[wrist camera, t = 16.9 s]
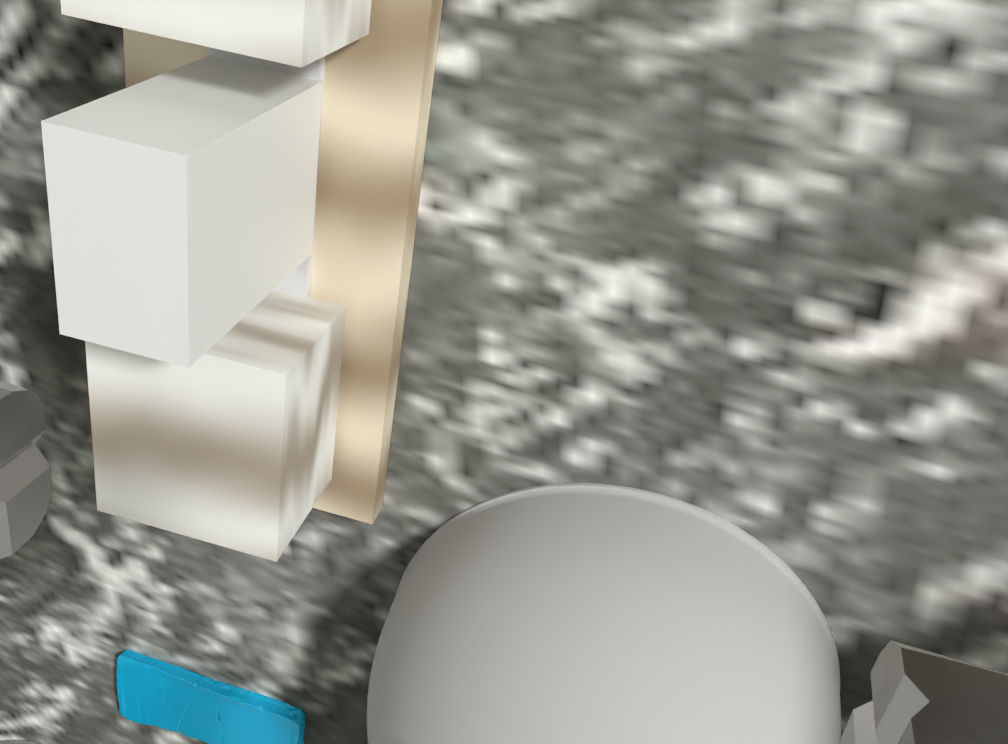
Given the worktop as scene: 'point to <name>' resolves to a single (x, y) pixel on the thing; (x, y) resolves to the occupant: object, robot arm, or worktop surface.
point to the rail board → (281, 287)
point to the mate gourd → (17, 742)
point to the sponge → (202, 705)
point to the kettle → (601, 630)
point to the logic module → (180, 204)
